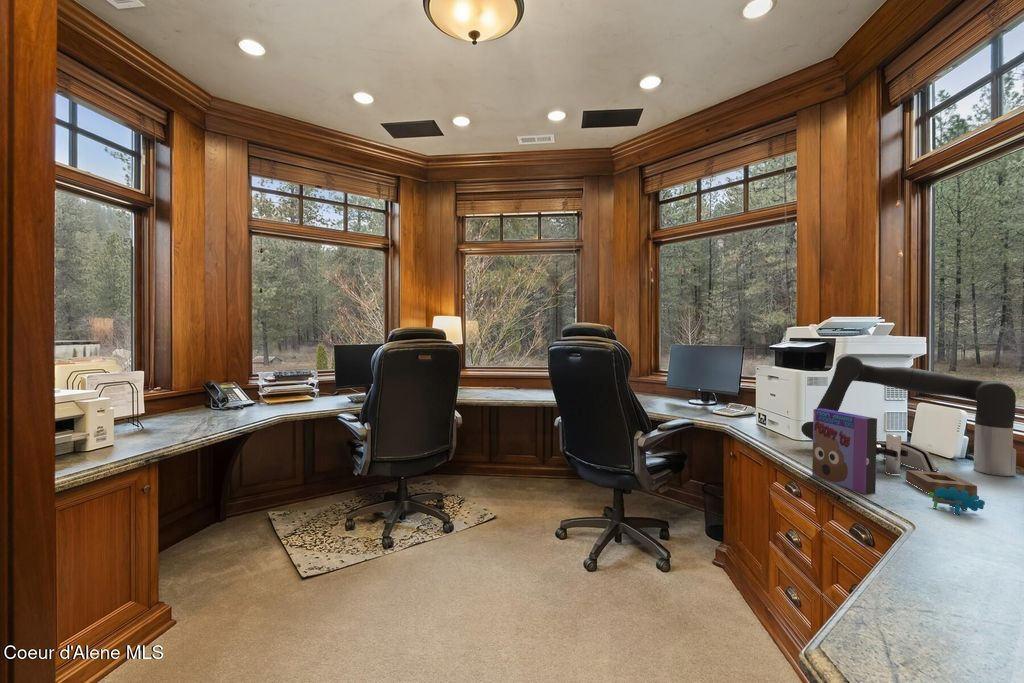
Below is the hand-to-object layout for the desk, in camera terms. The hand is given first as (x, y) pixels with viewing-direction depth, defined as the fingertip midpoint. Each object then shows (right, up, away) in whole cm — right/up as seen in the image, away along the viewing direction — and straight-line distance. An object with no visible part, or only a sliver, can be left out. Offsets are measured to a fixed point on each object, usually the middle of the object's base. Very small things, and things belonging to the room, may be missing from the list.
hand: (901, 454), depth 149 cm
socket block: (+1, -8, -12) cm, 15 cm away
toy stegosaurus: (-11, -9, -29) cm, 32 cm away
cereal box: (-27, -8, -8) cm, 29 cm away
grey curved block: (+14, -8, +12) cm, 20 cm away
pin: (-1, -8, +3) cm, 8 cm away
